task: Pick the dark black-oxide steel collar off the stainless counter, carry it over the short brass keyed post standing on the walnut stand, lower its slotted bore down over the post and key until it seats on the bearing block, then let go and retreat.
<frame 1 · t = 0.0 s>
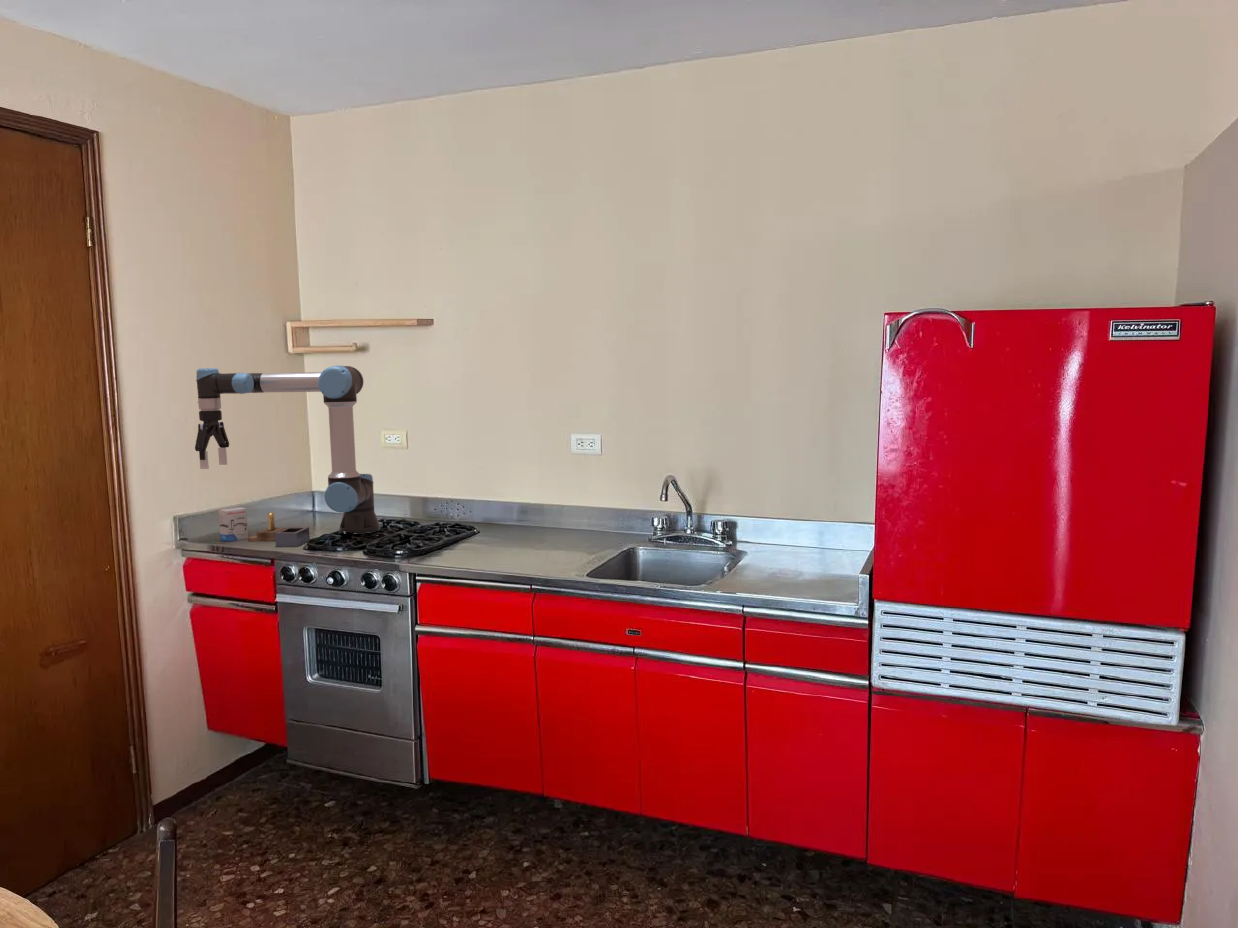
hand: (214, 466, 306), 28 cm above the counter, fingers open, 13 cm apart
collar: (293, 543, 300), on the counter
ink box: (234, 539, 310), on the counter
post: (270, 521, 310), on the stand, point 6 cm above the counter
stand: (272, 538, 311), on the counter
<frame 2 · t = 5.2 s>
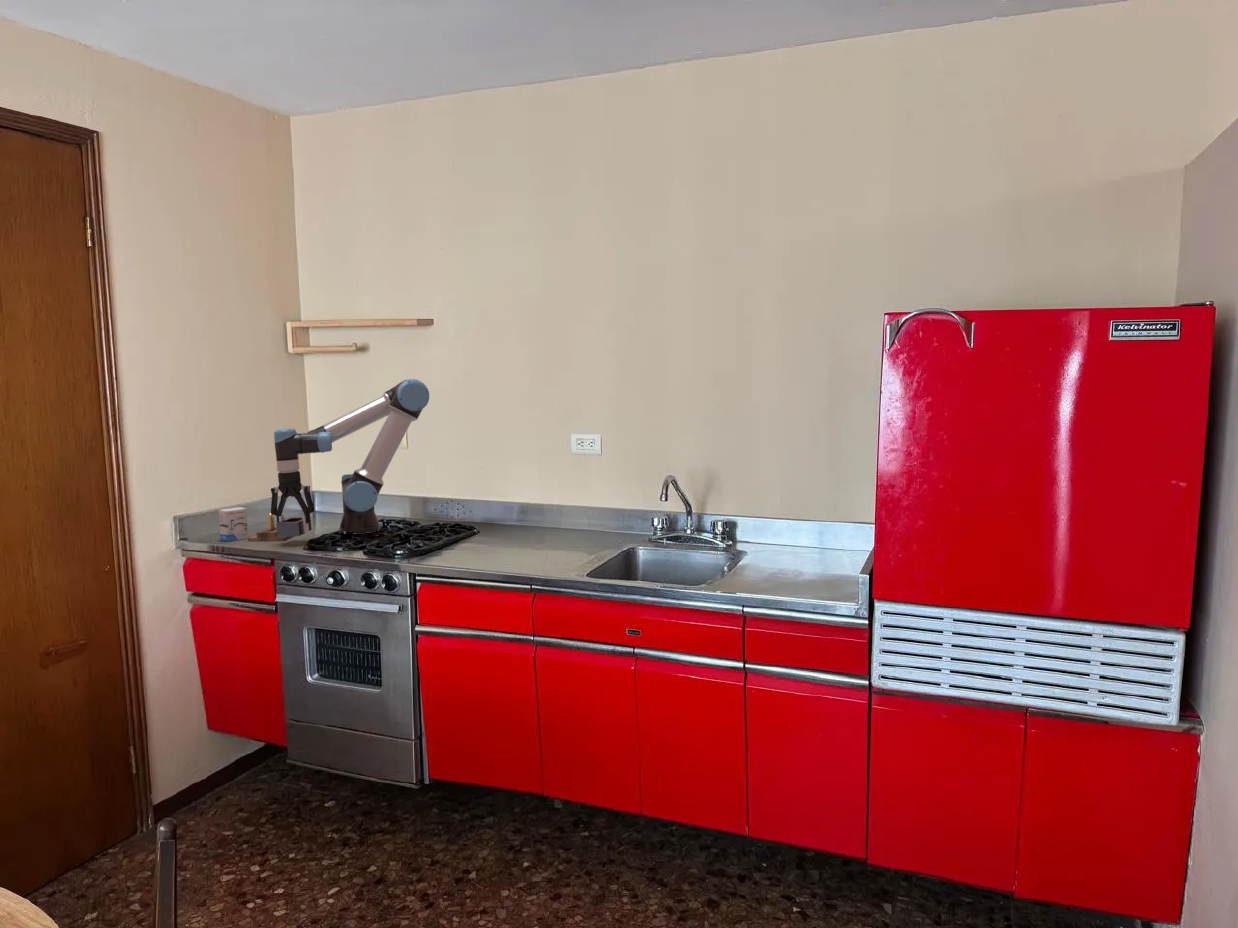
hand: (294, 532, 300), 4 cm above the counter, fingers closed on collar, 8 cm apart
collar: (294, 533, 300), point 4 cm above the counter, touching gripper
everything else where it was.
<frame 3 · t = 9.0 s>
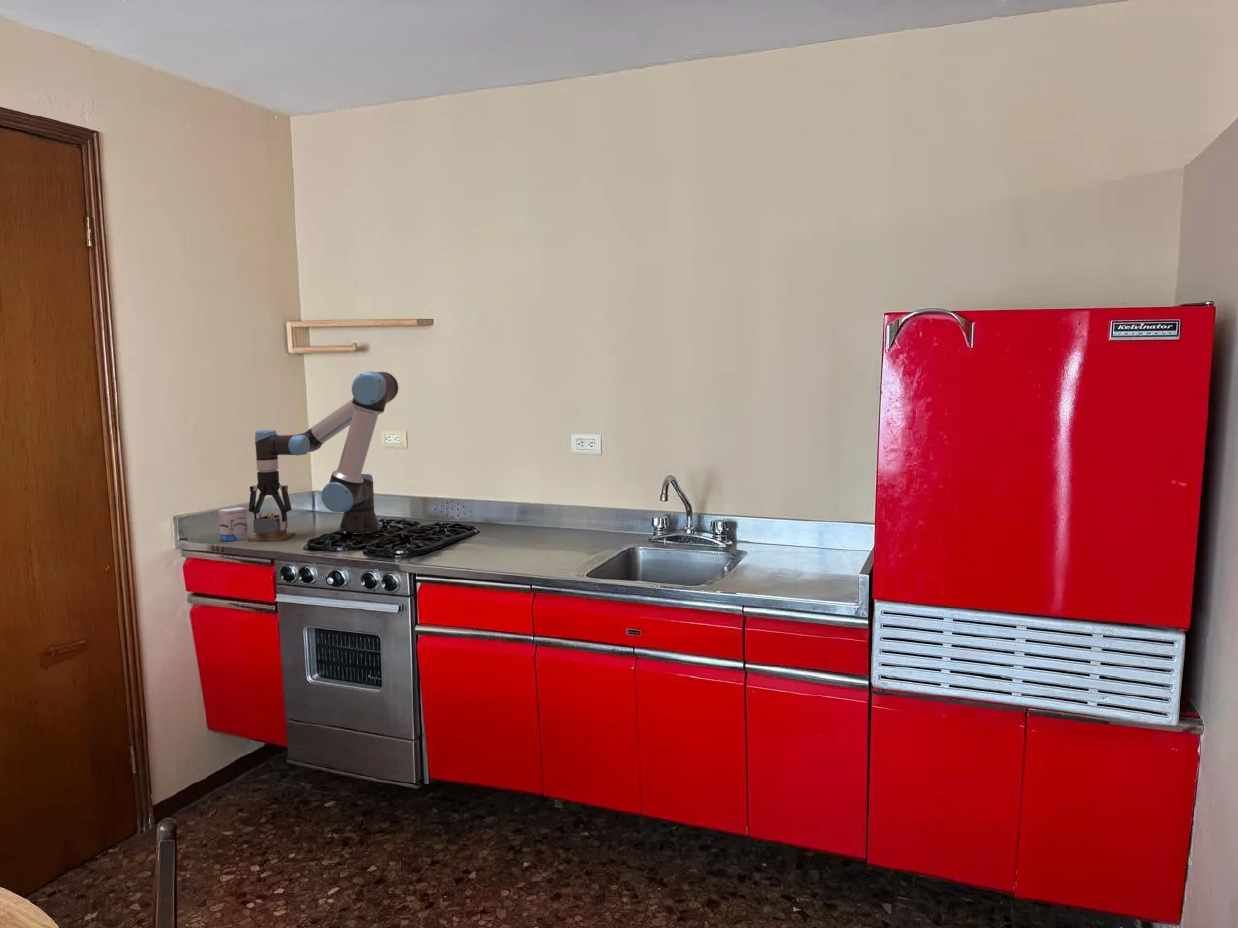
hand: (271, 529, 310), 3 cm above the counter, fingers closed on collar, 8 cm apart
collar: (271, 530, 310), point 3 cm above the counter, touching gripper, stand
everything else where it was.
when the fingers open (3 cm above the counter, at t = 9.8 s): collar stays where it is, resting on stand.
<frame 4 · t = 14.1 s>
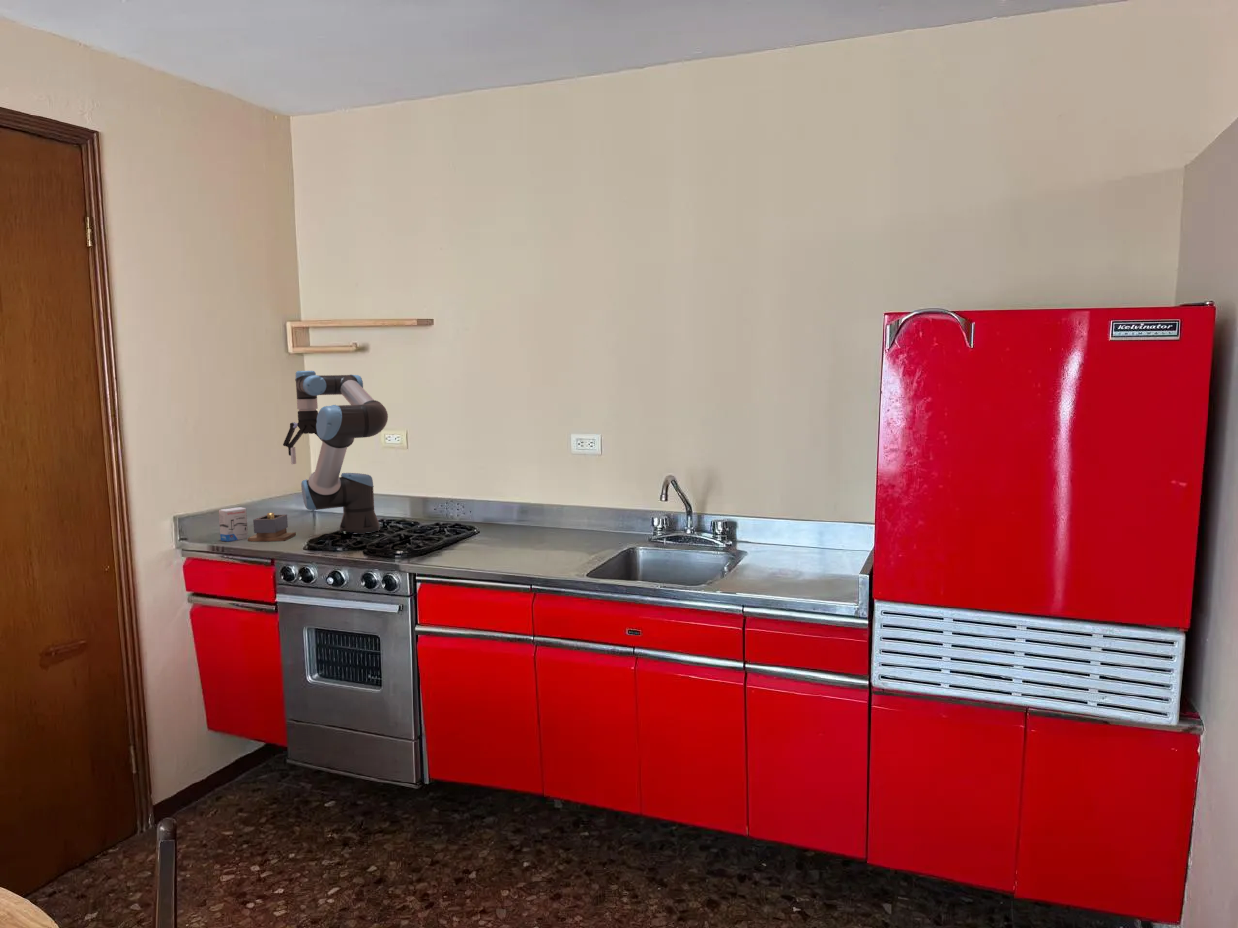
hand: (310, 463, 323), 27 cm above the counter, fingers open, 13 cm apart
collar: (271, 530, 310), point 3 cm above the counter, touching stand
everything else where it was.
at the end: collar 0.1 cm off-centre on the post, point 3.2 cm above the post's base; collar tilted 0°; the gripper is holding nothing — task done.
